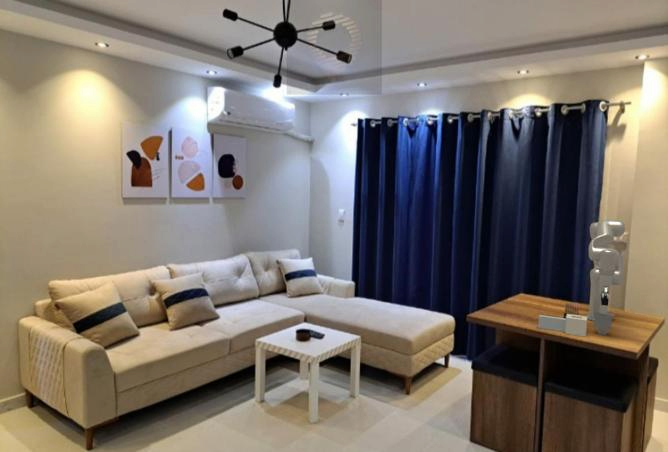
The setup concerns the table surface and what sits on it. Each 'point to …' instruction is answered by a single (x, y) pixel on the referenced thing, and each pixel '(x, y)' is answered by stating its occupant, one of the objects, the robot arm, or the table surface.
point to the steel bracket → (602, 323)
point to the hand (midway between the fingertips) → (604, 303)
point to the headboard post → (565, 324)
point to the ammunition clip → (570, 309)
